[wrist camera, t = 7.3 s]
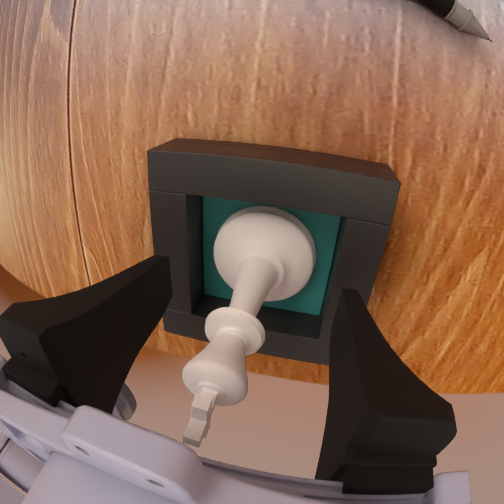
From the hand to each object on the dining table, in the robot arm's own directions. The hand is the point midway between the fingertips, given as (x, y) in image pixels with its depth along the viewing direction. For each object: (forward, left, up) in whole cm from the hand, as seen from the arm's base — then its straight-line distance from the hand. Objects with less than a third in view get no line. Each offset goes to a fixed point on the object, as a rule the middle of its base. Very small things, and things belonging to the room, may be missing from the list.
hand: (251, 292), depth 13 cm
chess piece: (0, 0, -3) cm, 3 cm away
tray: (0, 0, -4) cm, 4 cm away
